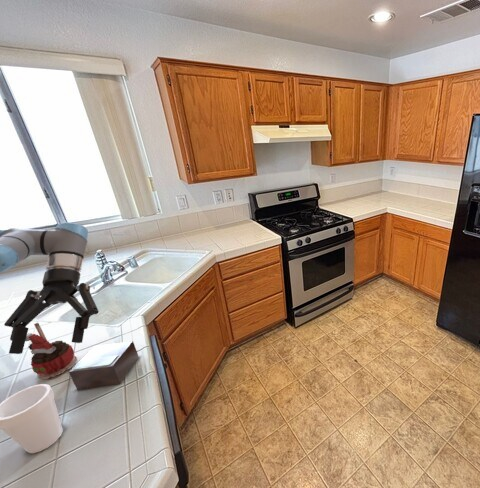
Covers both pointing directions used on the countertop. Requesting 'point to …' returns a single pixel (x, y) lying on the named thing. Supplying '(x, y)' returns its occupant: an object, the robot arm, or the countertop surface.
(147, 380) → the countertop surface
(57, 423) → the foam cup
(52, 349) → the cake
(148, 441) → the countertop surface
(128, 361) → the box
